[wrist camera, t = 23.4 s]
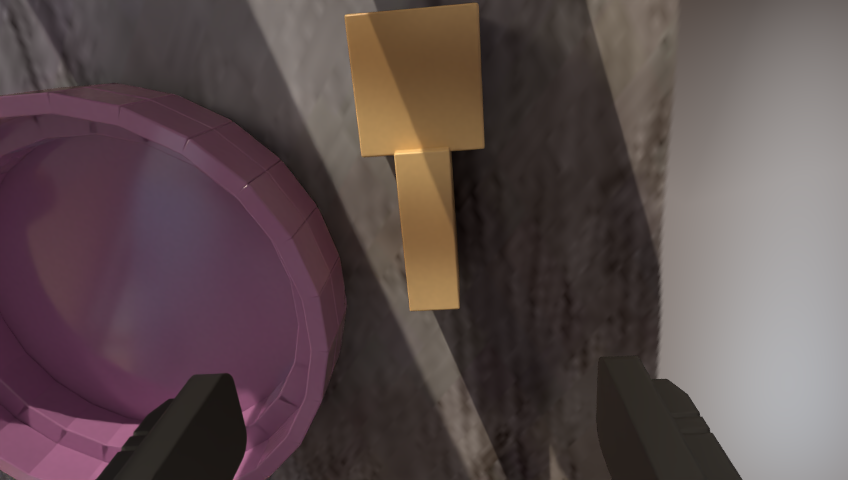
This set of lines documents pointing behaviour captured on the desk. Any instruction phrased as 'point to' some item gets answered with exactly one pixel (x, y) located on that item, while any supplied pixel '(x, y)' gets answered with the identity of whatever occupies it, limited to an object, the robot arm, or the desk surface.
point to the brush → (421, 126)
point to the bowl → (152, 278)
